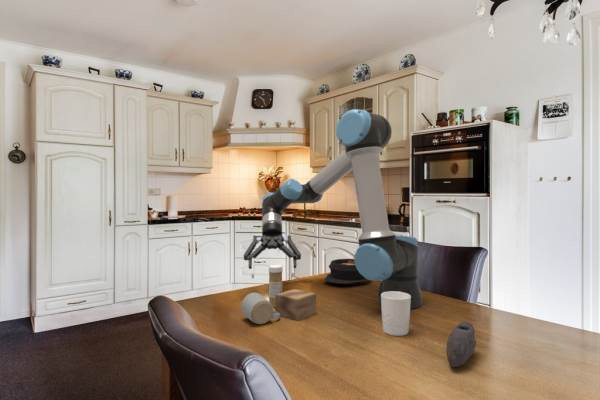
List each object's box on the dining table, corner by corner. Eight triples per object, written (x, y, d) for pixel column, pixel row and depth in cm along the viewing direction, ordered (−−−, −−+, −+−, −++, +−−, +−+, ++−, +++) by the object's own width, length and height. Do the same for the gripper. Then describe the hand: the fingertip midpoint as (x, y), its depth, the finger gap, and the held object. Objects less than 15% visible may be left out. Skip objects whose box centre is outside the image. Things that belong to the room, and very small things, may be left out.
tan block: (316, 313, 120) (316, 293, 120) (297, 320, 113) (297, 299, 113) (294, 307, 126) (294, 288, 126) (275, 314, 119) (275, 294, 119)
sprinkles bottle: (274, 303, 131) (274, 263, 131) (285, 305, 129) (285, 265, 128) (265, 306, 127) (265, 266, 127) (277, 308, 125) (277, 267, 124)
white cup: (411, 328, 107) (411, 292, 107) (409, 338, 100) (410, 300, 100) (382, 325, 110) (382, 290, 110) (378, 334, 103) (379, 297, 102)
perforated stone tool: (463, 376, 80) (463, 343, 80) (437, 369, 83) (437, 337, 83) (479, 351, 92) (479, 323, 92) (456, 346, 95) (456, 318, 95)
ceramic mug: (251, 327, 108) (251, 300, 107) (240, 319, 115) (241, 293, 115) (285, 322, 113) (285, 296, 113) (272, 314, 120) (273, 289, 120)
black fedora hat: (345, 273, 178) (345, 255, 178) (382, 279, 167) (382, 260, 166) (313, 283, 159) (313, 263, 159) (352, 291, 147) (352, 269, 147)
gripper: (304, 233, 150) (308, 280, 135) (239, 233, 148) (236, 282, 133) (305, 220, 144) (309, 269, 130) (238, 221, 142) (235, 270, 128)
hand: (272, 275), depth 131 cm, fingers open, 13 cm apart
